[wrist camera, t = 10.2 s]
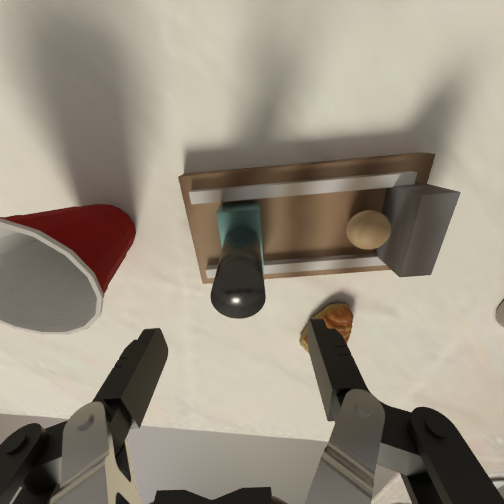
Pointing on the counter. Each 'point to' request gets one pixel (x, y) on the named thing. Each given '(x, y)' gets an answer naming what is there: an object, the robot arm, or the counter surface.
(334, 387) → the robot arm
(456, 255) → the counter surface
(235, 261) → the jaw
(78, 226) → the plastic cup
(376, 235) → the walnut
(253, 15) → the counter surface
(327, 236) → the base
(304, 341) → the pastry
